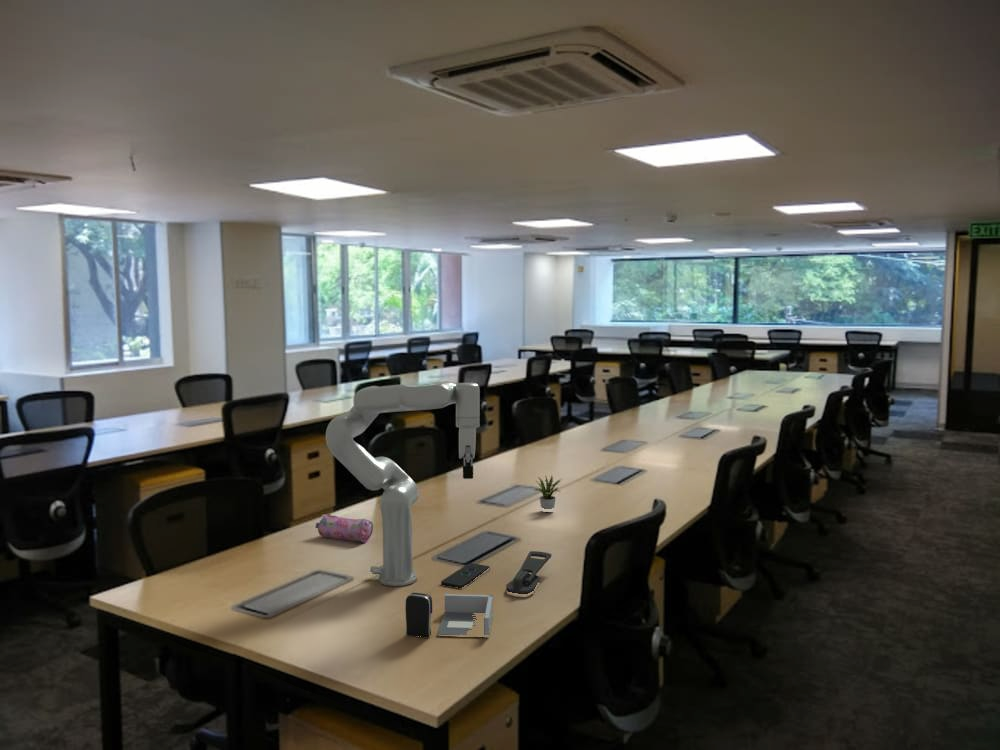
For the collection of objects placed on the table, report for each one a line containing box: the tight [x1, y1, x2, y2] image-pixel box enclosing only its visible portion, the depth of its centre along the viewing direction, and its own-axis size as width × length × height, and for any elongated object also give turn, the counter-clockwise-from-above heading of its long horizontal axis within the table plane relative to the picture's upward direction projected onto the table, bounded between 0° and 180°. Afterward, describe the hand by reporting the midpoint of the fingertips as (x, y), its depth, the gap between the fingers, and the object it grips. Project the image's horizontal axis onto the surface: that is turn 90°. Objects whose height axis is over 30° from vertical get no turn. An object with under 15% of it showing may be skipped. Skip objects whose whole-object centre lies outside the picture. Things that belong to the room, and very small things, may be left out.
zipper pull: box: [505, 550, 552, 594], centre depth 238 cm, size 9×7×25 cm
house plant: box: [534, 474, 563, 509], centre depth 321 cm, size 14×14×16 cm
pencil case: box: [315, 513, 374, 543], centre depth 283 cm, size 21×9×9 cm, turn 66°
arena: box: [436, 593, 494, 636], centre depth 206 cm, size 14×16×6 cm
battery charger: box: [405, 592, 433, 639], centre depth 200 cm, size 7×4×11 cm, turn 73°
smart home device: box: [440, 562, 490, 589], centre depth 244 cm, size 8×2×20 cm
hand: (467, 475), depth 234 cm, fingers open, 9 cm apart
